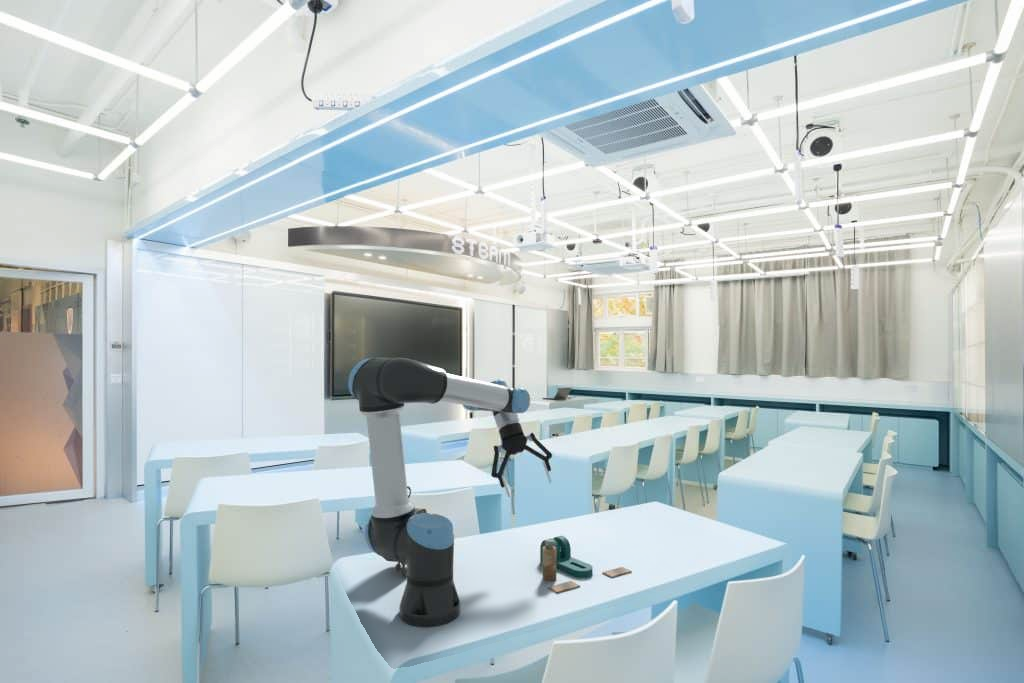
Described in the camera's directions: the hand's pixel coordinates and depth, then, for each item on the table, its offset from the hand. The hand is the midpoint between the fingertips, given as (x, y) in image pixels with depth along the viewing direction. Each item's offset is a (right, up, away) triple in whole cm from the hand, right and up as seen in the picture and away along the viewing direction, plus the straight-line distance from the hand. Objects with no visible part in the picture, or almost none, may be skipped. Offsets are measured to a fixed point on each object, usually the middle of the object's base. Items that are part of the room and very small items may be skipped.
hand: (530, 489), depth 168 cm
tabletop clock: (-39, -24, -4) cm, 45 cm away
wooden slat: (+17, -23, -12) cm, 31 cm away
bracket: (+12, -24, -3) cm, 27 cm away
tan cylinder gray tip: (+5, -23, -11) cm, 26 cm away
